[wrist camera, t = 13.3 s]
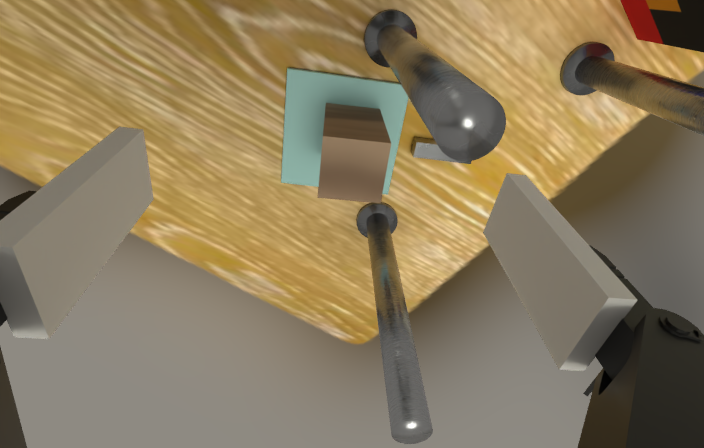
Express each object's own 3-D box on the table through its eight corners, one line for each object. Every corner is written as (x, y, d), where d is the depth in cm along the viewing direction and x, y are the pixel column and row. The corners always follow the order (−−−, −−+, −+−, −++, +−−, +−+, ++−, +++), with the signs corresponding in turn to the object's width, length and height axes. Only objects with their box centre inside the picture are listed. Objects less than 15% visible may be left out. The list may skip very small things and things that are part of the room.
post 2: (360, 62, 35) (394, 179, 14) (369, 5, 33) (422, 50, 12) (409, 69, 35) (509, 192, 15) (421, 14, 33) (556, 70, 13)
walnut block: (325, 102, 36) (322, 135, 28) (379, 108, 36) (391, 143, 29) (321, 154, 39) (317, 197, 31) (372, 159, 39) (380, 203, 31)
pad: (281, 180, 41) (281, 182, 40) (288, 67, 35) (287, 68, 34) (387, 191, 42) (387, 194, 41) (409, 84, 36) (410, 86, 36)
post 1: (353, 234, 44) (368, 451, 24) (359, 199, 42) (381, 407, 22) (392, 238, 45) (438, 454, 24) (400, 204, 43) (459, 411, 22)
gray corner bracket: (410, 151, 39) (413, 157, 38) (426, 84, 36) (429, 88, 35) (466, 158, 40) (470, 164, 39) (486, 92, 37) (492, 96, 35)
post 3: (552, 90, 37) (822, 229, 16) (572, 38, 34) (916, 124, 14) (596, 96, 37) (913, 239, 17) (619, 46, 35) (1018, 140, 14)
